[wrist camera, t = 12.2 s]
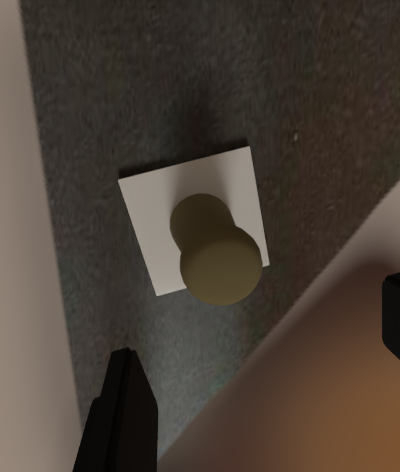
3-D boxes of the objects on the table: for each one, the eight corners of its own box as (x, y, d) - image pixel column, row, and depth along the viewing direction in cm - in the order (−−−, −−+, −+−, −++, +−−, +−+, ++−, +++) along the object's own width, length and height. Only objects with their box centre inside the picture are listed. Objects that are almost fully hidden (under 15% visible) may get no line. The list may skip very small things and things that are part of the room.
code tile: (247, 146, 25) (249, 146, 24) (266, 261, 29) (269, 264, 28) (119, 178, 25) (117, 180, 24) (156, 292, 29) (156, 296, 28)
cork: (158, 209, 25) (155, 253, 15) (218, 182, 25) (258, 207, 15) (185, 264, 27) (199, 336, 17) (241, 239, 27) (289, 296, 17)
